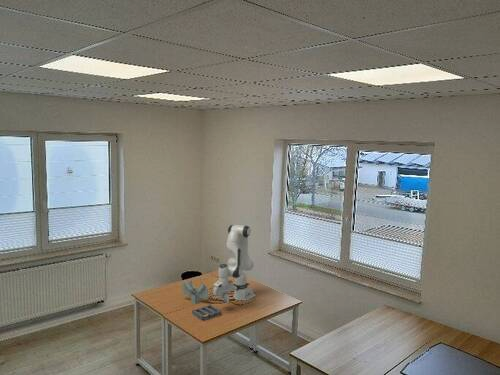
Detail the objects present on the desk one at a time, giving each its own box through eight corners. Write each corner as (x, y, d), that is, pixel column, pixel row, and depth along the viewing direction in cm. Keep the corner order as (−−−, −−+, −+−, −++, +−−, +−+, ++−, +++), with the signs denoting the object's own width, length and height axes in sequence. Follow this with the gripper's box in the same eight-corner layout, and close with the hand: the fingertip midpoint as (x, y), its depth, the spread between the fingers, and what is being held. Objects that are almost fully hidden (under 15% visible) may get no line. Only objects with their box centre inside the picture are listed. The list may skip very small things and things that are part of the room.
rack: (210, 308, 350) (210, 304, 349) (221, 314, 337) (221, 310, 336) (192, 314, 338) (192, 309, 338) (202, 321, 325) (202, 316, 324)
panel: (221, 297, 350) (220, 290, 349) (228, 302, 340) (228, 294, 339) (218, 298, 348) (218, 291, 347) (226, 302, 339) (226, 295, 338)
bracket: (209, 303, 361) (209, 282, 359) (206, 306, 355) (205, 285, 352) (184, 298, 372) (184, 278, 369) (180, 301, 365) (180, 280, 363)
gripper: (230, 278, 351) (231, 293, 353) (212, 284, 338) (212, 299, 340) (235, 280, 346) (235, 295, 348) (216, 286, 333) (216, 301, 335)
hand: (223, 297), depth 344 cm, fingers closed on panel, 2 cm apart
